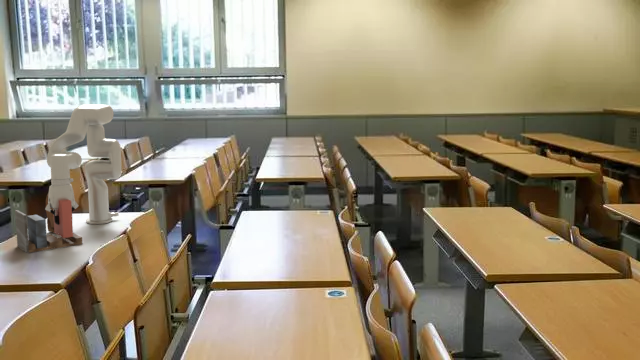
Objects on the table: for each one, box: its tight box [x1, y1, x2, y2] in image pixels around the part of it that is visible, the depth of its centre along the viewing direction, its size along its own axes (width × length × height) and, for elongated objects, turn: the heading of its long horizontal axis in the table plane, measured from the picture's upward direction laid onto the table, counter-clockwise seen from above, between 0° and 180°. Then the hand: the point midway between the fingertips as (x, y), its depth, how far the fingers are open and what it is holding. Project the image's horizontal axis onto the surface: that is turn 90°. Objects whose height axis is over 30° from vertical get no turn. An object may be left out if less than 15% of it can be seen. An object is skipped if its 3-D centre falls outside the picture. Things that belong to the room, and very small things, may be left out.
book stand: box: [14, 209, 83, 254], centre depth 262 cm, size 23×14×16 cm, turn 131°
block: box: [45, 192, 55, 234], centre depth 284 cm, size 11×8×20 cm
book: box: [53, 200, 74, 238], centre depth 265 cm, size 4×12×16 cm, turn 41°
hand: (62, 222), depth 266 cm, fingers closed on book, 4 cm apart
